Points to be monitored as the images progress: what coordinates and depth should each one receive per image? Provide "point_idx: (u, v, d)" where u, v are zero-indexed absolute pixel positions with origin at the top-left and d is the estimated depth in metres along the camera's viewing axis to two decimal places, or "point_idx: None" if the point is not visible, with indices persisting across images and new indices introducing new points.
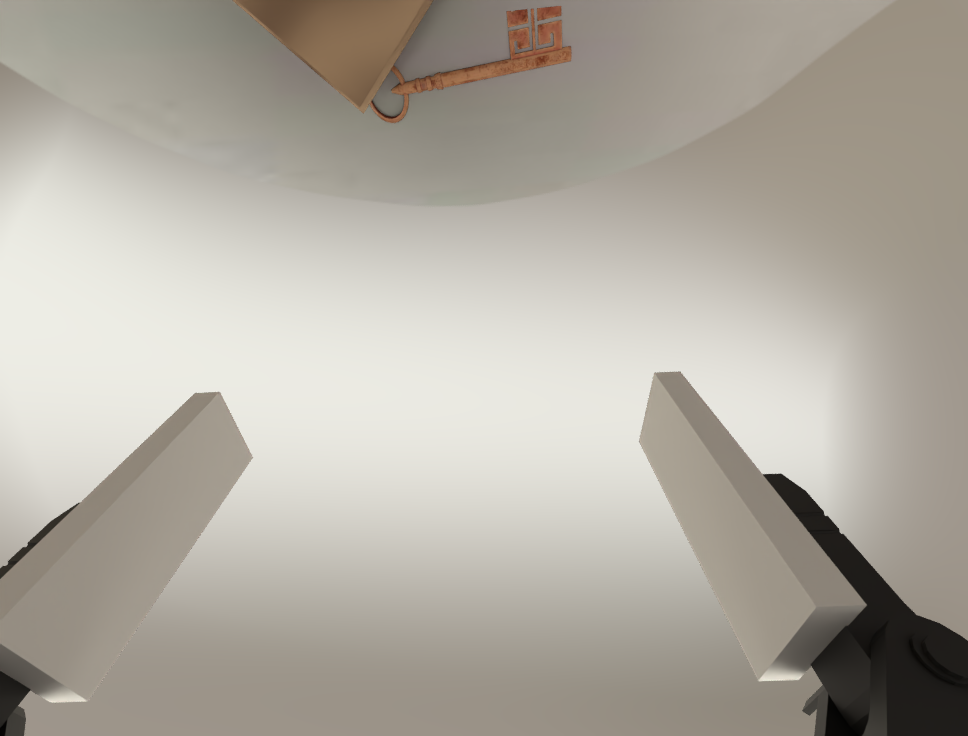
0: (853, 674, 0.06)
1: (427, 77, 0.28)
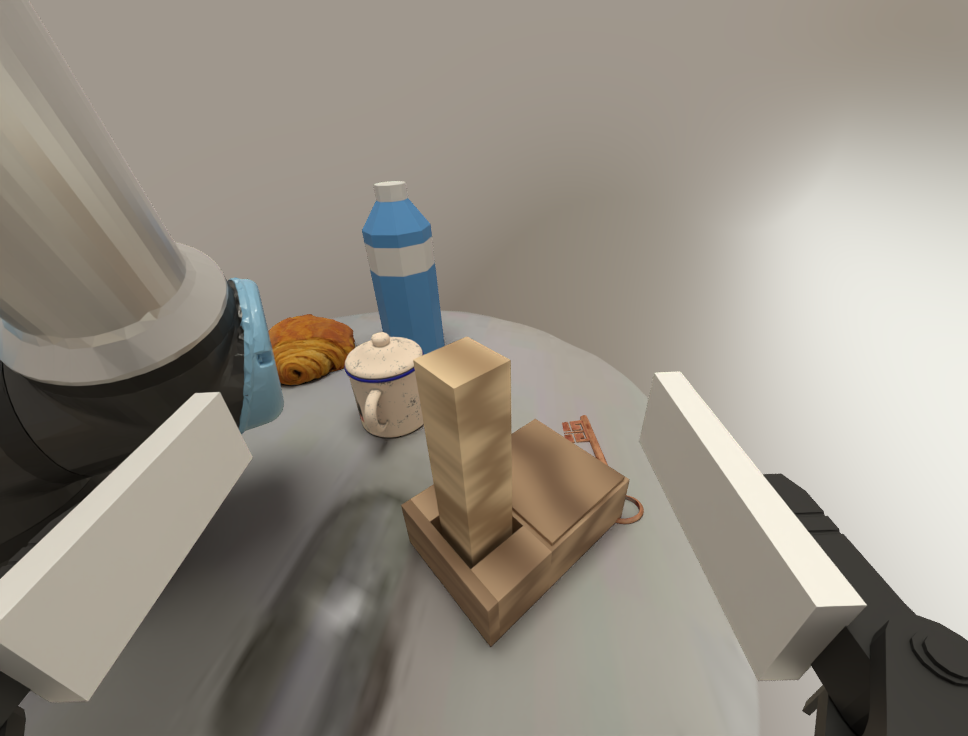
0: (853, 674, 0.06)
1: None
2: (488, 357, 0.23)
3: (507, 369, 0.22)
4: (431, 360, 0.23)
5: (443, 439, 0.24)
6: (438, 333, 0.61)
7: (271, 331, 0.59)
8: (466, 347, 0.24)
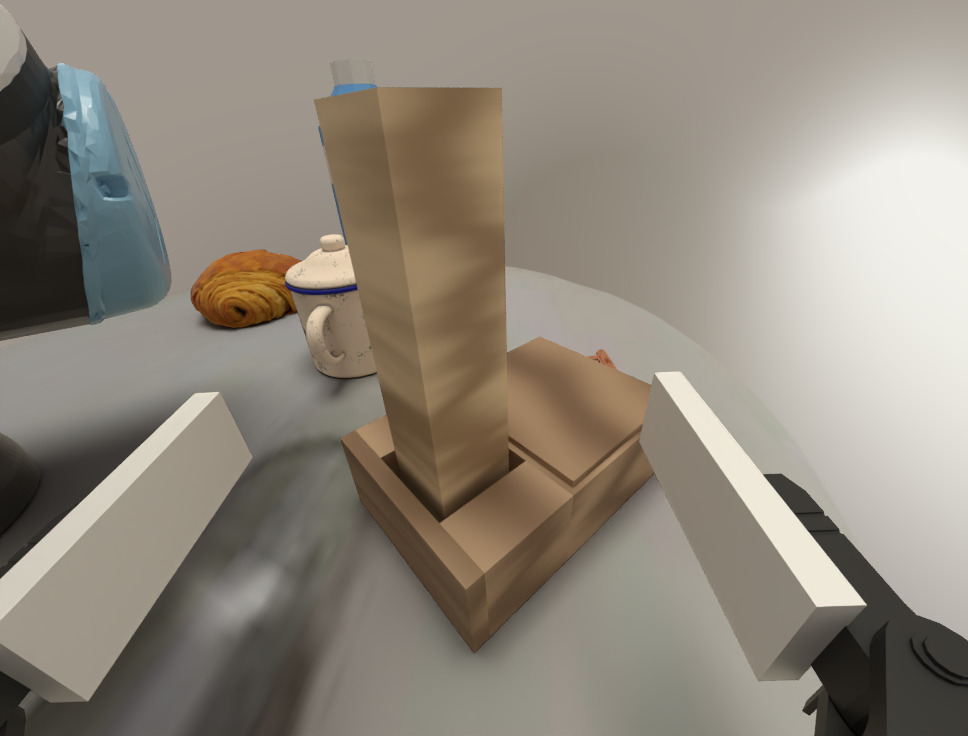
0: (853, 674, 0.06)
1: None
2: None
3: (495, 110, 0.11)
4: None
5: (378, 267, 0.13)
6: None
7: (212, 264, 0.48)
8: None
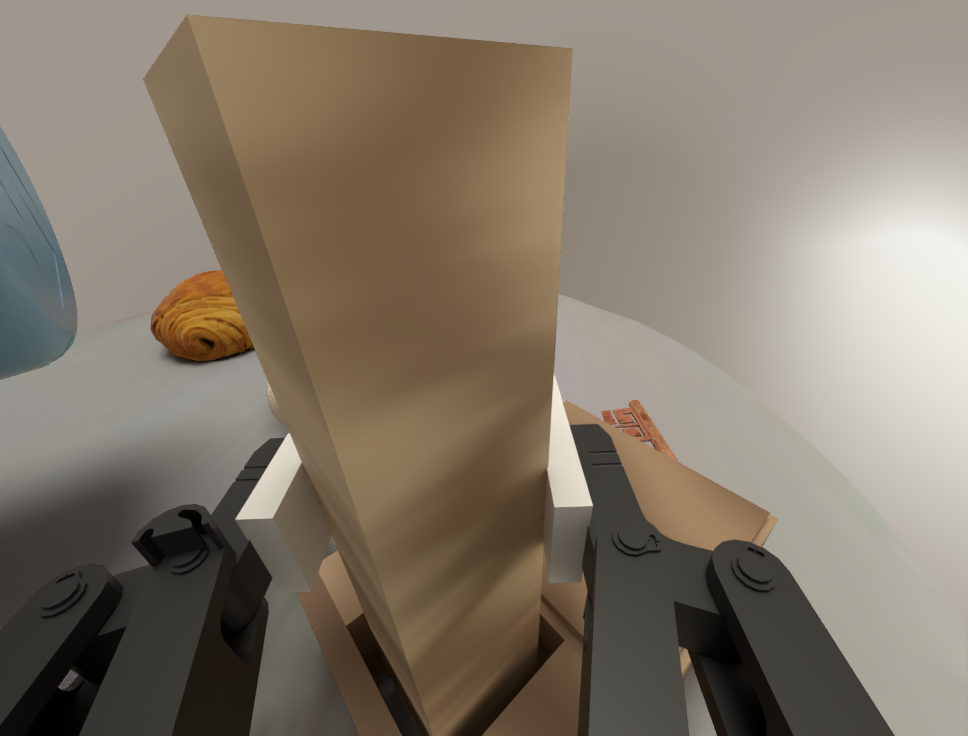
0: (591, 575, 0.08)
1: None
2: None
3: (556, 102, 0.05)
4: None
5: (303, 426, 0.06)
6: None
7: (177, 286, 0.42)
8: None
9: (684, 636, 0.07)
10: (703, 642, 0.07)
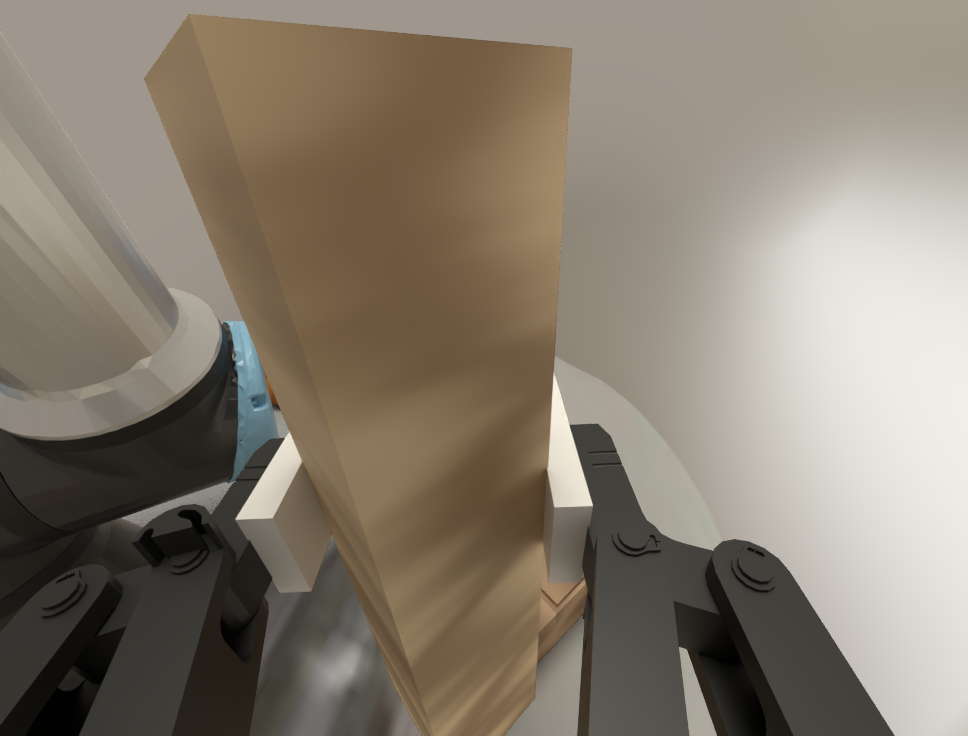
0: (591, 576, 0.08)
1: None
2: None
3: (556, 102, 0.05)
4: None
5: (304, 425, 0.06)
6: None
7: None
8: None
9: (685, 636, 0.07)
10: (702, 642, 0.07)
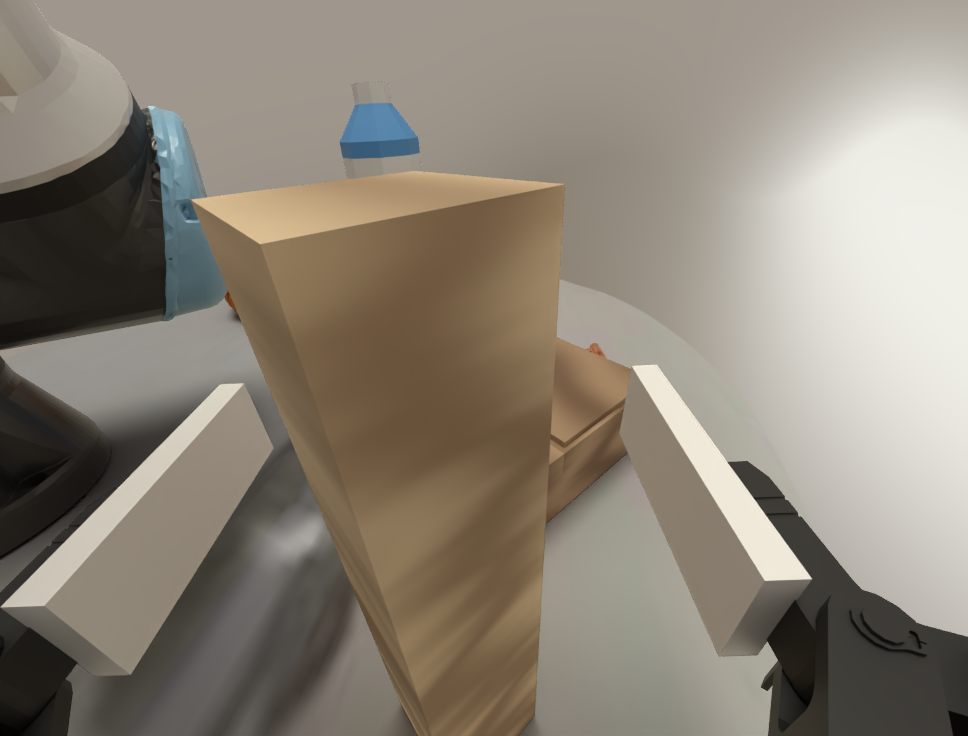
0: (802, 648, 0.06)
1: None
2: (476, 185, 0.06)
3: (551, 226, 0.06)
4: (255, 197, 0.06)
5: (326, 492, 0.07)
6: None
7: None
8: (402, 179, 0.07)
9: None
10: None
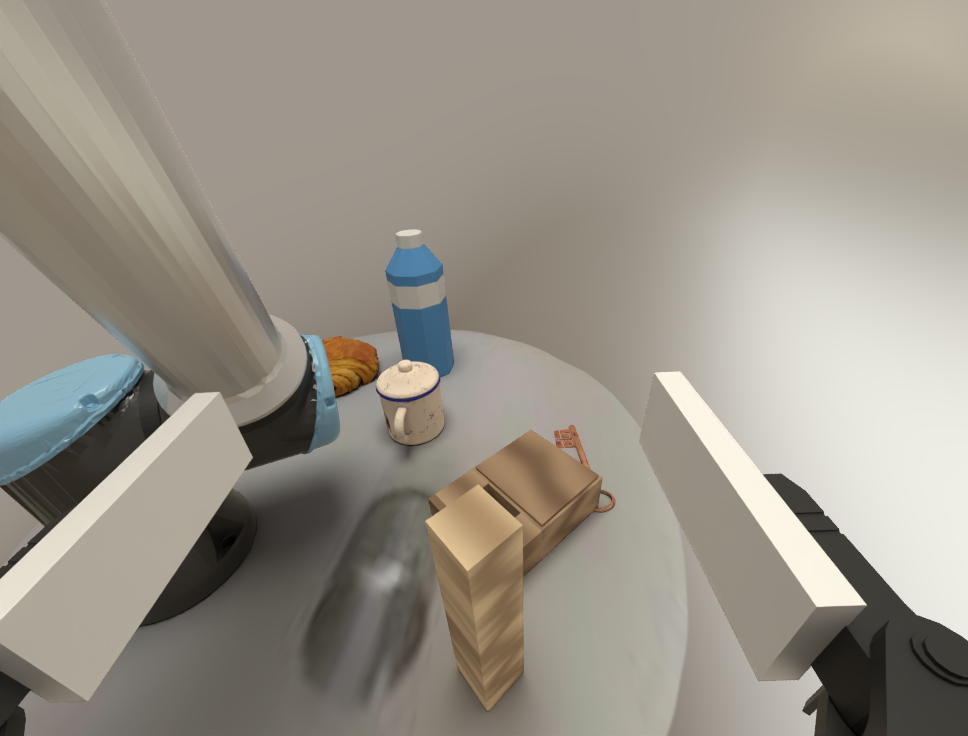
0: (853, 674, 0.06)
1: None
2: (500, 519, 0.23)
3: (519, 533, 0.22)
4: (443, 523, 0.23)
5: (455, 592, 0.24)
6: (448, 353, 0.72)
7: None
8: (478, 502, 0.24)
9: None
10: None
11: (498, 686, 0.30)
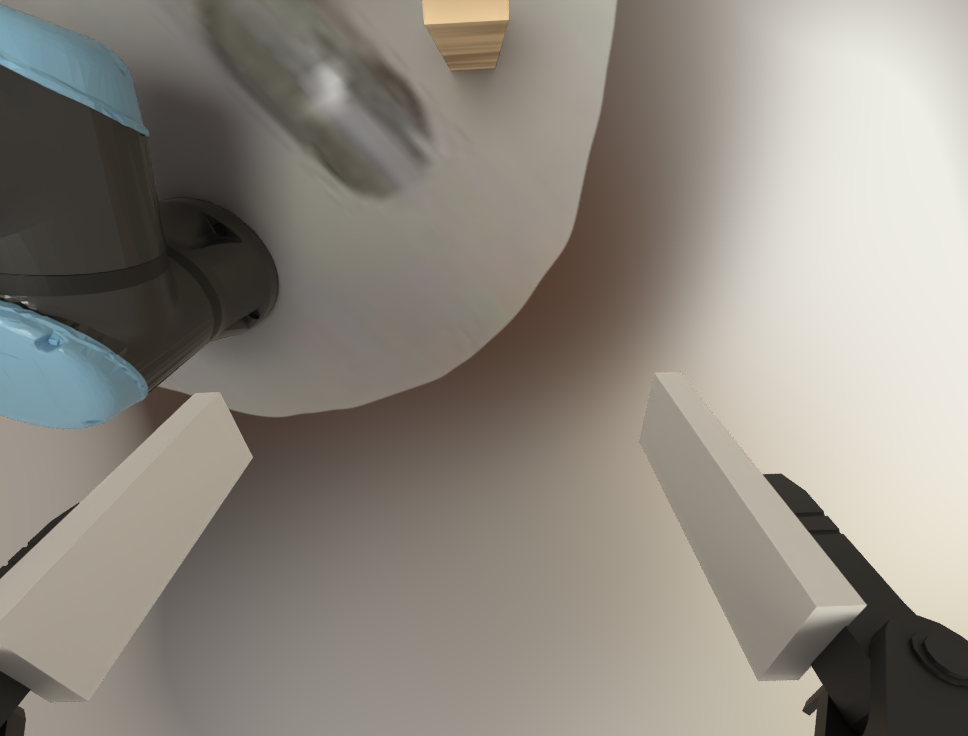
0: (853, 674, 0.06)
1: None
2: None
3: None
4: (440, 2, 0.18)
5: (473, 39, 0.22)
6: None
7: None
8: None
9: None
10: None
11: None
